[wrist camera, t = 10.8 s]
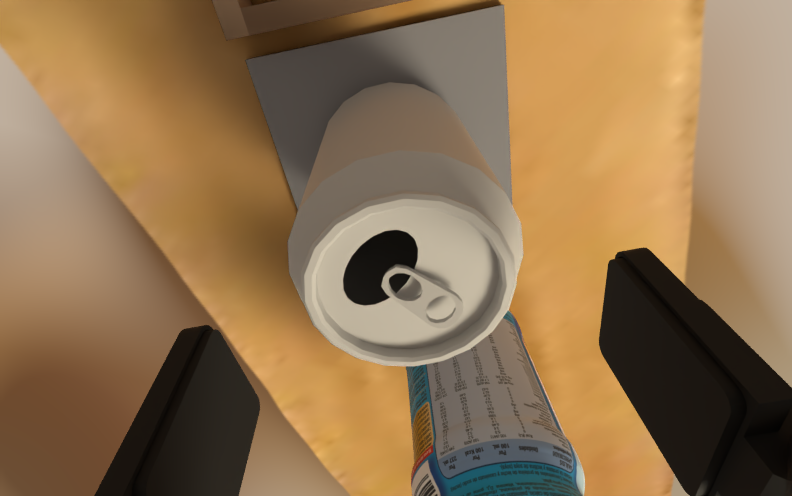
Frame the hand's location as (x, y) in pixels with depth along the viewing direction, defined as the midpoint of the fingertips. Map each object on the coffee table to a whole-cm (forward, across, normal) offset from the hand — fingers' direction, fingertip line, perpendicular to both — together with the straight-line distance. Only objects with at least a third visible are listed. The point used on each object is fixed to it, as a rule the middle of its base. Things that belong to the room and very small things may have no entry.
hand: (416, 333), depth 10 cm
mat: (+14, 0, +1) cm, 14 cm away
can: (+14, 0, +1) cm, 14 cm away
